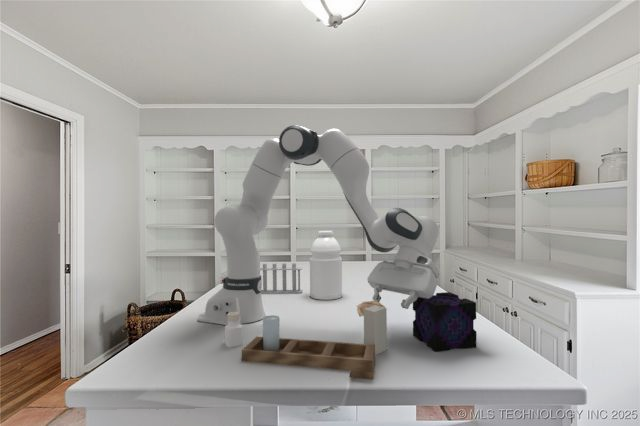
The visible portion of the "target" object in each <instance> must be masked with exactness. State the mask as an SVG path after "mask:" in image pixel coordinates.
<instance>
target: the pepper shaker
mask: <svg viewBox="0 0 640 426" xmlns="http://www.w3.org/2000/svg"><path fill="white" fill-rule="evenodd" d="M239 320H240V313H239V312H230V313H228V314H227V321H228V325H224V344H225V345H226V347H227V348H233V347H238V346H242V345H243V344H244V341H243V340H244V338H243V337H244V336H243V334H244V333H243V331H244V330H243V327H244V326H243V324H239Z"/></svg>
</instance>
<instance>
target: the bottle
mask: <svg viewBox="0 0 640 426" xmlns="http://www.w3.org/2000/svg"><path fill="white" fill-rule="evenodd" d="M333 231H334V230H319V231H317V236H318V237H317V238H316V239H315V240H314V241H313V242H312V244H311V246H310V250H309V251H310V252H311V253H312V255H311V256H310V257H309V295H310V297H311V299H315V300H319V301H321V300H323V301H330V300H337V299H340V298H341V297H343V275H342V274H343V270H342V269H343V267H342V266H343V258H342V257H341V255H340V253H341V251H342V248H341V245H340V243H339V241H338V240H337V239H336V238H335V237H334V232H333Z"/></svg>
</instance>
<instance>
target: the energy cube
mask: <svg viewBox="0 0 640 426" xmlns="http://www.w3.org/2000/svg"><path fill="white" fill-rule="evenodd" d="M412 310H413V311H414V313H415V314H414V317H415V318H414V320H412V336H413V337H414V338H416V339H417V340H419V341H420V342H425V343H426V346H427V347H428V348H429V349H431V350H432V352H435V353H437V352H446V351H447V352H448V351H451V349H453V348H459V349H461V350H466V349H467V350H468V349H474V348H475V349H476V348H477V330H475V329H474V321H475V320H477V302H476V301H473V300H471V299H468V298H467V297H466V298H460V297H459V295H457V294H455V293H453V292H450V291H449V292H448V291H447V292H437V293H435V294H434V295H433V296H432V297H431V298H429V299H427V298H422V297H418V298H417V300H416V301H414V302H413V303H412Z"/></svg>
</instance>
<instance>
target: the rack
mask: <svg viewBox="0 0 640 426" xmlns="http://www.w3.org/2000/svg"><path fill="white" fill-rule="evenodd" d="M241 362H251V363H260V364H262V363H264V364H270V365H271V364H273V365H282V366H283V365H285V366H296V367H297V366H298V367H307V368H319V369H330V370H340V371H350V372H349V374H348V375H349V376H348V378H355V379H357V378H358V379H367V380H373V379H374V372H375V365H376V355H375V345H371V344H364V343H354V342H340V341H339V342H338V341H327V340H326V341H325V340H311V339H299V338H283V337H280V352H276V351H264V350H263V336H255V338H253V339H251V341H250V342H249V343H248V344H247V345H245V346H244V348H242V349H241Z"/></svg>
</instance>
